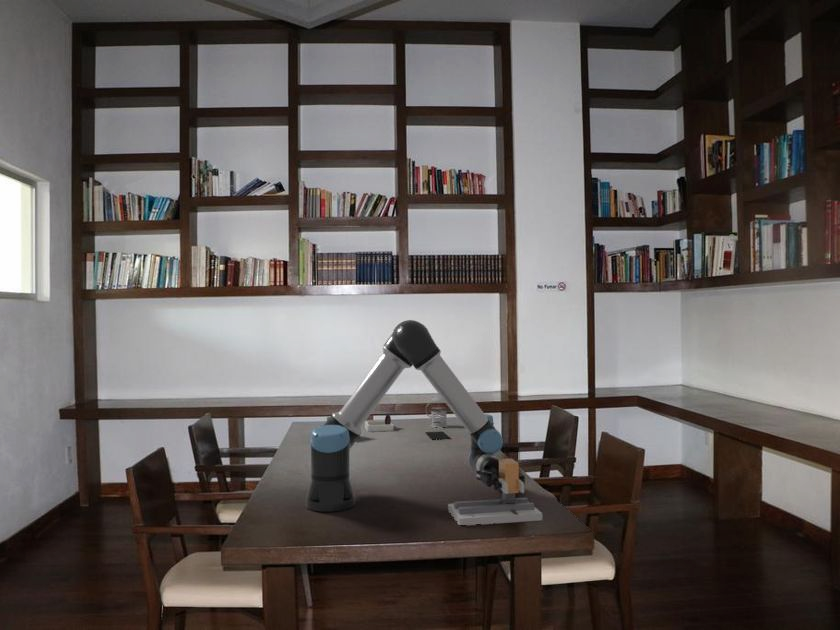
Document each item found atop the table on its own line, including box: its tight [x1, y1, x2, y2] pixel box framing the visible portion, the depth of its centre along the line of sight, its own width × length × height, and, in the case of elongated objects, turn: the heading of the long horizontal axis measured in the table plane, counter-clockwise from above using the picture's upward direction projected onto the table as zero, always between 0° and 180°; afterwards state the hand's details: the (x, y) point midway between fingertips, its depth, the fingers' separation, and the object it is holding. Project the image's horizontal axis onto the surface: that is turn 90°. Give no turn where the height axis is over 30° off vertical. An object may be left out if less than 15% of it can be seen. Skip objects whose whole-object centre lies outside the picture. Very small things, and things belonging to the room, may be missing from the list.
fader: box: [498, 458, 520, 504], centre depth 188 cm, size 4×6×13 cm
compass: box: [384, 413, 392, 425], centre depth 326 cm, size 8×8×7 cm
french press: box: [425, 392, 448, 428], centre depth 332 cm, size 10×12×25 cm
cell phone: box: [424, 430, 452, 441], centre depth 307 cm, size 9×18×1 cm, turn 11°
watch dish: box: [364, 420, 395, 433], centre depth 327 cm, size 13×13×3 cm
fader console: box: [447, 497, 543, 526], centre depth 187 cm, size 24×14×4 cm, turn 100°
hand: (514, 488), depth 183 cm, fingers closed on fader, 4 cm apart
